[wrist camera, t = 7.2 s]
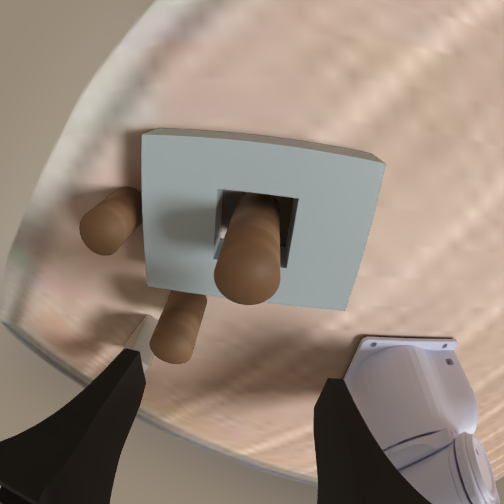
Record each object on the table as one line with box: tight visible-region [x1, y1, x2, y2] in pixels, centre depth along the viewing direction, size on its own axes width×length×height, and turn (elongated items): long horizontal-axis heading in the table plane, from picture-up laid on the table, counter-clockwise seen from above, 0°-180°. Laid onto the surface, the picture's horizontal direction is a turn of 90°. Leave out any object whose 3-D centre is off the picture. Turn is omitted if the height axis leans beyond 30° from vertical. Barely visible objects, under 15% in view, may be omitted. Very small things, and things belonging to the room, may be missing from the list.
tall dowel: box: [214, 192, 280, 305], centre depth 15 cm, size 3×3×7 cm
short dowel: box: [80, 187, 143, 255], centre depth 17 cm, size 3×3×4 cm
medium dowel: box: [149, 290, 207, 364], centre depth 20 cm, size 3×3×5 cm
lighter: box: [124, 315, 158, 372], centre depth 21 cm, size 7×2×8 cm, turn 141°
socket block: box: [141, 128, 386, 311], centre depth 17 cm, size 12×9×2 cm
